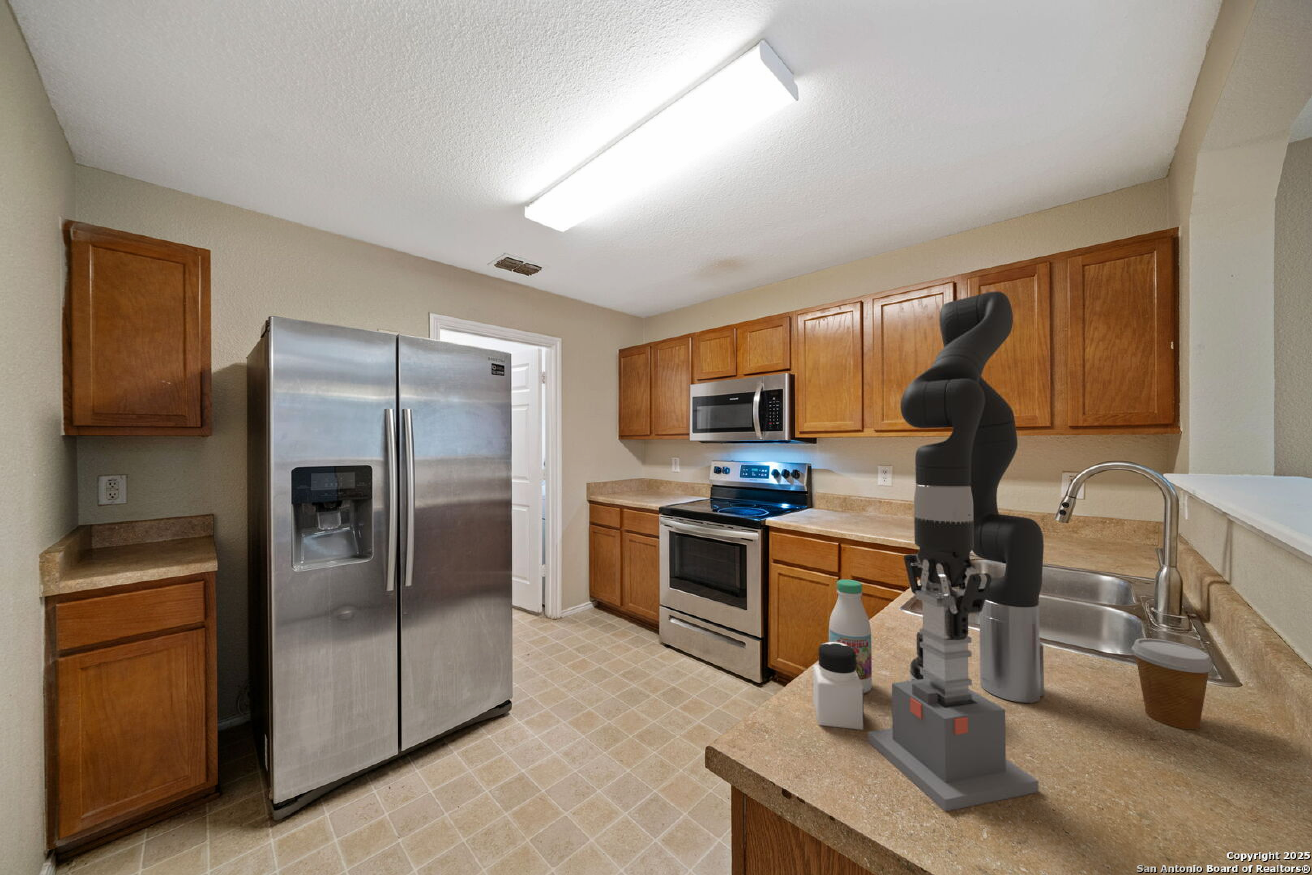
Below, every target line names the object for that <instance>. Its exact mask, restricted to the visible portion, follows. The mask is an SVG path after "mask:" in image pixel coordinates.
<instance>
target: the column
mask: <svg viewBox="0 0 1312 875" xmlns="http://www.w3.org/2000/svg"><path fill="white" fill-rule="evenodd" d="M952 589H953V590H958V588H957V589H956V588H955V587H952ZM915 599H916V600H919V601H921V602H922V628H919V632H920V634H922V635H923V642H920V647H921V648H923V669H920V674H921V675H923V682H920V683H923V684H925V685H926V686H928V687H929V688H931V689H933V690H934V691H936V692H937V693H938V704H940V705H941V706H943V707H944V708H949V707H956V706H962V705H969V699H972V694H971V693H969V692H968V689H969V686H972V685H973V680H972V679H971V678H969V658H971V657H972V655H973V654H972V651H971V650H969V644H970V643H972V637H971V636H969V635H968V636H967V637H966V638H965V639H963V640H954V639H952V638H951V637H950V613H951V611H950V608H949V598H948V597H946V596H945V595H944V594H943V589H931V590H916V594H915ZM957 601H958V604H960V597H959V596H957Z"/></svg>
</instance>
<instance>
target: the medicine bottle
mask: <svg viewBox="0 0 1312 875" xmlns="http://www.w3.org/2000/svg"><path fill="white" fill-rule="evenodd" d="M812 668H813V671H812V672H813V673H812V674H813V678H812V679H813V680H812V681H813V692H812V693H813V706H814V710H815V715H816V719H817V723H818V725H819V726H822V727H823V726H824V727H832V728H833V727H834V728H842V729H848V730H849V729H850V730H857V731H858V730H861V731H862V730H864V728H865V726H864V725H865V724H864V716H865V715H864V709H865V708H864V693H863V686H862V684H861V681H860V679H859V677H858V675H857V673H856V652H855V651H854V649H853V648H851V647H850V646H848V645H845V644H843V643H838V642H829V641H828V642H824V643H821V644H820V645H819V647H818V664H814V665H813V666H812Z"/></svg>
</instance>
